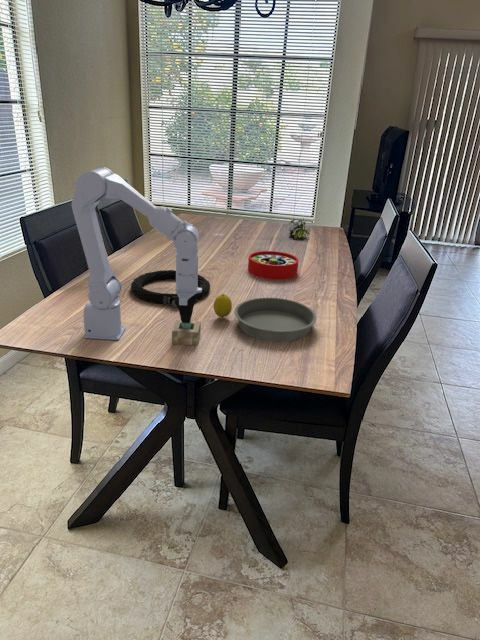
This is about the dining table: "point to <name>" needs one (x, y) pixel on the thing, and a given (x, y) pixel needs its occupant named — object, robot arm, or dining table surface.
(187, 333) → the beige socket block
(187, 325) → the peg
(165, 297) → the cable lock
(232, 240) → the dining table surface
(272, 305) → the cake pan
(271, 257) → the toy clock
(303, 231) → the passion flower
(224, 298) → the lemon
